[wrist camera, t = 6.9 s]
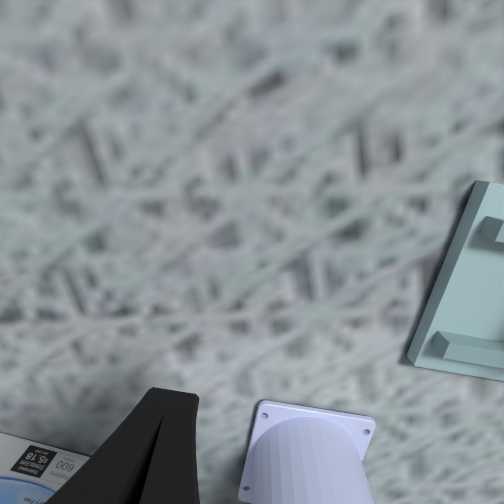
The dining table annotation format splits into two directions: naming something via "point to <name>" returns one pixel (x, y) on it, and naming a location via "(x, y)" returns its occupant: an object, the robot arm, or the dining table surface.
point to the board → (468, 295)
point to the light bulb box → (33, 470)
